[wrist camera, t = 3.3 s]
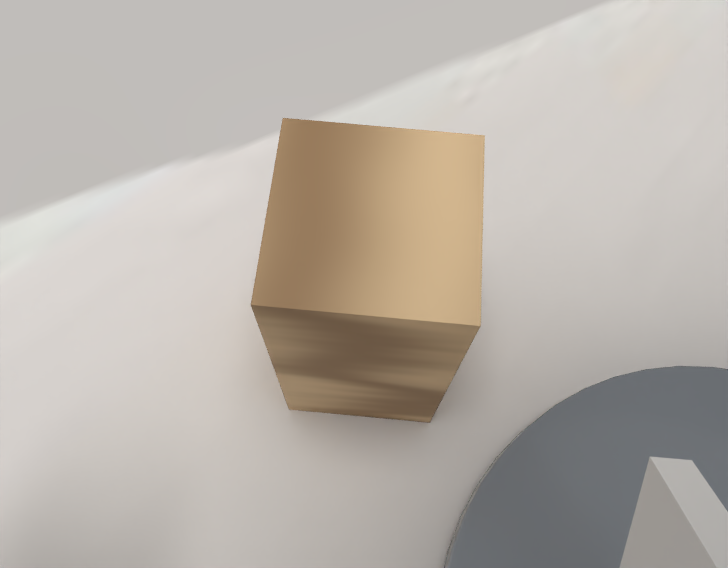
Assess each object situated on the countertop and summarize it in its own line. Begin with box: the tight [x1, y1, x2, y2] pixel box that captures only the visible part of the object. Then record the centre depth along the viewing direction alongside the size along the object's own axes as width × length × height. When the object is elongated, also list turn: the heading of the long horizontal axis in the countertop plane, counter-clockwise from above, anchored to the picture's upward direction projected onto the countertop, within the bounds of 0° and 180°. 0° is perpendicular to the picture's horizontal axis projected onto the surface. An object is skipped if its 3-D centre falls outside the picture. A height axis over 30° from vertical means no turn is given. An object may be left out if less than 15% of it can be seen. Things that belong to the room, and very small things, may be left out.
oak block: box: [251, 118, 485, 423], centre depth 20 cm, size 5×5×10 cm
